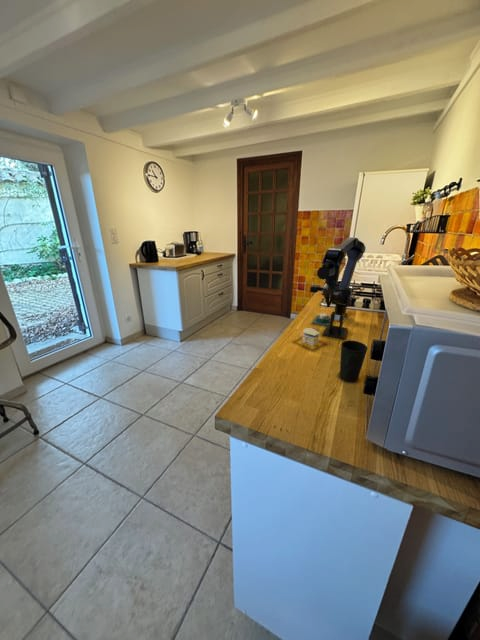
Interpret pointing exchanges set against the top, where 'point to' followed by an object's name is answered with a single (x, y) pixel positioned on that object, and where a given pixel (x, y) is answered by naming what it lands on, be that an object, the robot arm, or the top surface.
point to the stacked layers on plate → (310, 336)
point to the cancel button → (323, 316)
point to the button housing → (322, 321)
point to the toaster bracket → (335, 328)
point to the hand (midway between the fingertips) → (328, 307)
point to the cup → (351, 360)
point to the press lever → (337, 317)
